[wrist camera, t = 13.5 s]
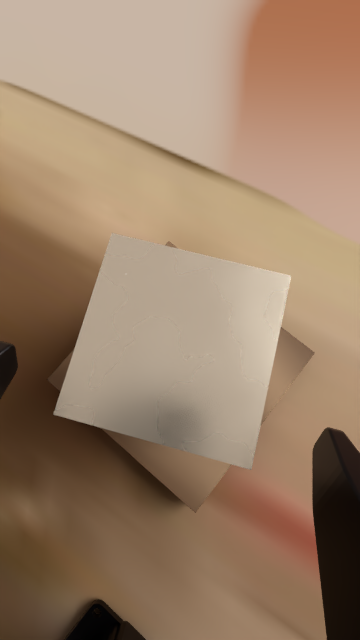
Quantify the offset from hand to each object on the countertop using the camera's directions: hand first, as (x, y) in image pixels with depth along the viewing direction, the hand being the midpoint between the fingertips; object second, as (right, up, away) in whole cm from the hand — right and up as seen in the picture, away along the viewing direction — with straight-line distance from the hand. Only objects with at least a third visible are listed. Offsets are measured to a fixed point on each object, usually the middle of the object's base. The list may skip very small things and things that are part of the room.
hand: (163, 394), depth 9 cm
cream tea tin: (+1, -1, +12) cm, 12 cm away
